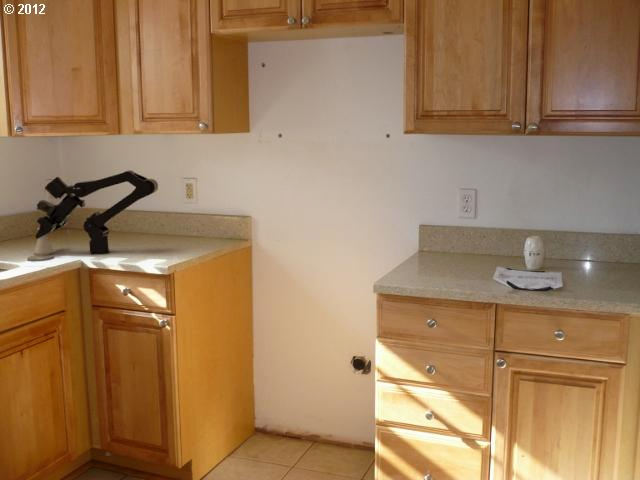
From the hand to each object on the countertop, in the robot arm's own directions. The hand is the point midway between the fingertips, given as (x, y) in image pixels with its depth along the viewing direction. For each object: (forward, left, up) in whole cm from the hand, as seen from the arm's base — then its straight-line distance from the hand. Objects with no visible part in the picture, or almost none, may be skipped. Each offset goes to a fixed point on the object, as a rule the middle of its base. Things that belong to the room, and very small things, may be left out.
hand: (39, 236), depth 272 cm
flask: (-1, 0, -7) cm, 7 cm away
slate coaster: (-1, +11, -7) cm, 13 cm away
